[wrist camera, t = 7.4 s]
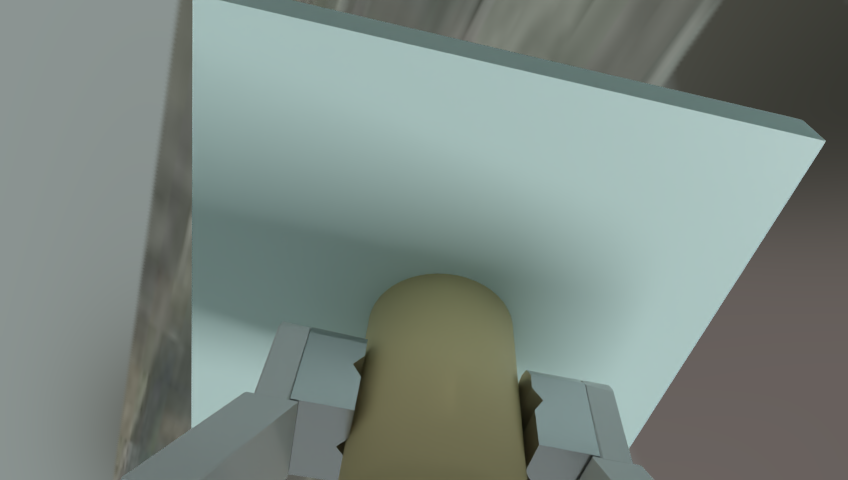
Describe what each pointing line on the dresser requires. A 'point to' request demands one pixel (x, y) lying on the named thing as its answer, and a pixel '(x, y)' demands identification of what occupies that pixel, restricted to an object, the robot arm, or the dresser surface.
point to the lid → (459, 224)
